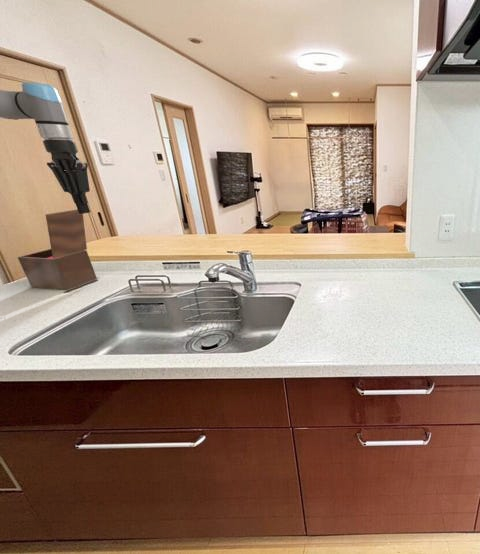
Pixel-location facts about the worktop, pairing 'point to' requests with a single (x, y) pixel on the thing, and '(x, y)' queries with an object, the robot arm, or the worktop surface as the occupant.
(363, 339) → the worktop surface
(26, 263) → the chest
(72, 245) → the chest lid
